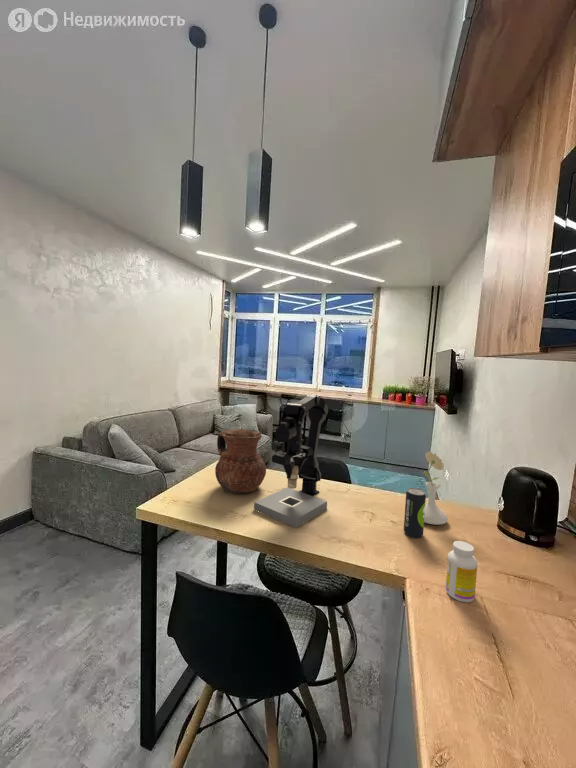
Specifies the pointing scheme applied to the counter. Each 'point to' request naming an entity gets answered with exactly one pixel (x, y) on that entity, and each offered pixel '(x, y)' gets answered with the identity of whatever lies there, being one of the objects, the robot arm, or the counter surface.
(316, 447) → the robot arm
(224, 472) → the jug
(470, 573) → the supplement bottle
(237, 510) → the counter surface
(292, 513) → the socket board
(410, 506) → the beverage can
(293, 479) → the birch peg
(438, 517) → the flower in vase
